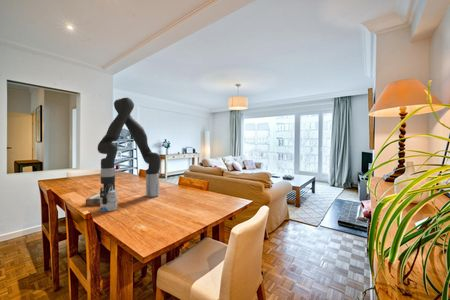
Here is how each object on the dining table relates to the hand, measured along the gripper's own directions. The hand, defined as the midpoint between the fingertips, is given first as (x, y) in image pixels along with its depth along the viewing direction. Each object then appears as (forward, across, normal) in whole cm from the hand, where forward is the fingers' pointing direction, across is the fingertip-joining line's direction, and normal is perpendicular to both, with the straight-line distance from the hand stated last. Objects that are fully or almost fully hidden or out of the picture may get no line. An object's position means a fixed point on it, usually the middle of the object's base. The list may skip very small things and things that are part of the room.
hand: (108, 201), depth 115 cm
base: (+5, +16, +11) cm, 20 cm away
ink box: (+6, 0, 0) cm, 6 cm away
